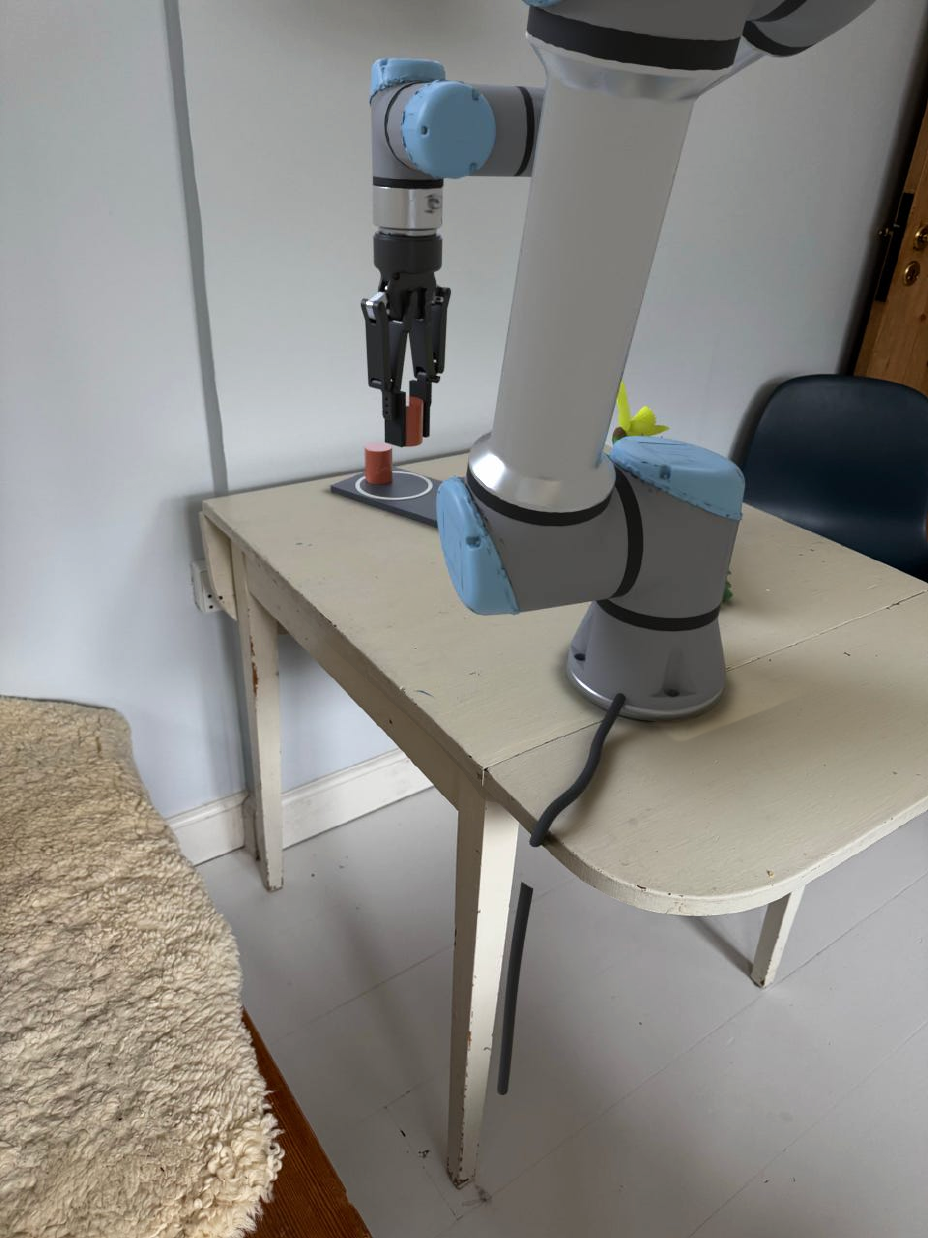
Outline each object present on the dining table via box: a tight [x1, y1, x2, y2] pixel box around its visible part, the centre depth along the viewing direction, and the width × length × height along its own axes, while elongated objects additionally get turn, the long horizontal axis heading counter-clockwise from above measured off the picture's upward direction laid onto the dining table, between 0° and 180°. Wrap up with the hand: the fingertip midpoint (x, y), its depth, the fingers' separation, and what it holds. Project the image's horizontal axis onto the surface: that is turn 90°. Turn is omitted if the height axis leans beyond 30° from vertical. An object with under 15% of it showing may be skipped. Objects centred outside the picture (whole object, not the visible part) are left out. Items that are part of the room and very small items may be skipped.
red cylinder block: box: [405, 395, 424, 448], centre depth 102 cm, size 4×4×5 cm
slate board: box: [330, 465, 444, 529], centre depth 120 cm, size 12×24×1 cm, turn 54°
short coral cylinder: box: [364, 442, 394, 484], centre depth 122 cm, size 4×4×5 cm
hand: (407, 438), depth 103 cm, fingers closed on red cylinder block, 4 cm apart
